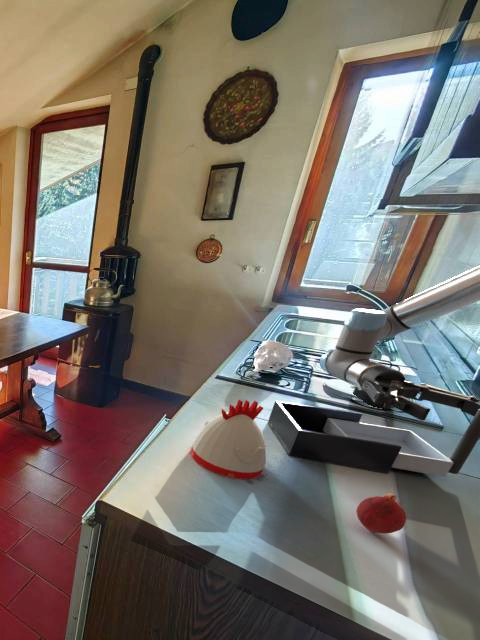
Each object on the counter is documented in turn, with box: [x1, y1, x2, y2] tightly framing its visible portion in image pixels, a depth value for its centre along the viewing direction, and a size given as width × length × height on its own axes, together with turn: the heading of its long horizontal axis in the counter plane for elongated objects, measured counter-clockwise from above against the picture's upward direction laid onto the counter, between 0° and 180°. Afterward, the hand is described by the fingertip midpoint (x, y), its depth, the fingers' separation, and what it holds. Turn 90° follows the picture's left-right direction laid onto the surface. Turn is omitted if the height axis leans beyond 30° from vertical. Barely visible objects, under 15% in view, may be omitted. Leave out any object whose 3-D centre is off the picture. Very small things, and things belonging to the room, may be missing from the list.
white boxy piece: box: [323, 409, 480, 477], centre depth 87 cm, size 18×15×15 cm
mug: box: [352, 379, 408, 409], centre depth 115 cm, size 9×12×9 cm
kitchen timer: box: [190, 399, 267, 480], centre depth 85 cm, size 14×14×15 cm
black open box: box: [267, 400, 402, 475], centre depth 93 cm, size 18×17×7 cm
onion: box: [355, 492, 407, 534], centre depth 66 cm, size 6×6×8 cm
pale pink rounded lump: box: [252, 339, 294, 373], centre depth 143 cm, size 10×14×12 cm
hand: (462, 416), depth 81 cm, fingers open, 13 cm apart
